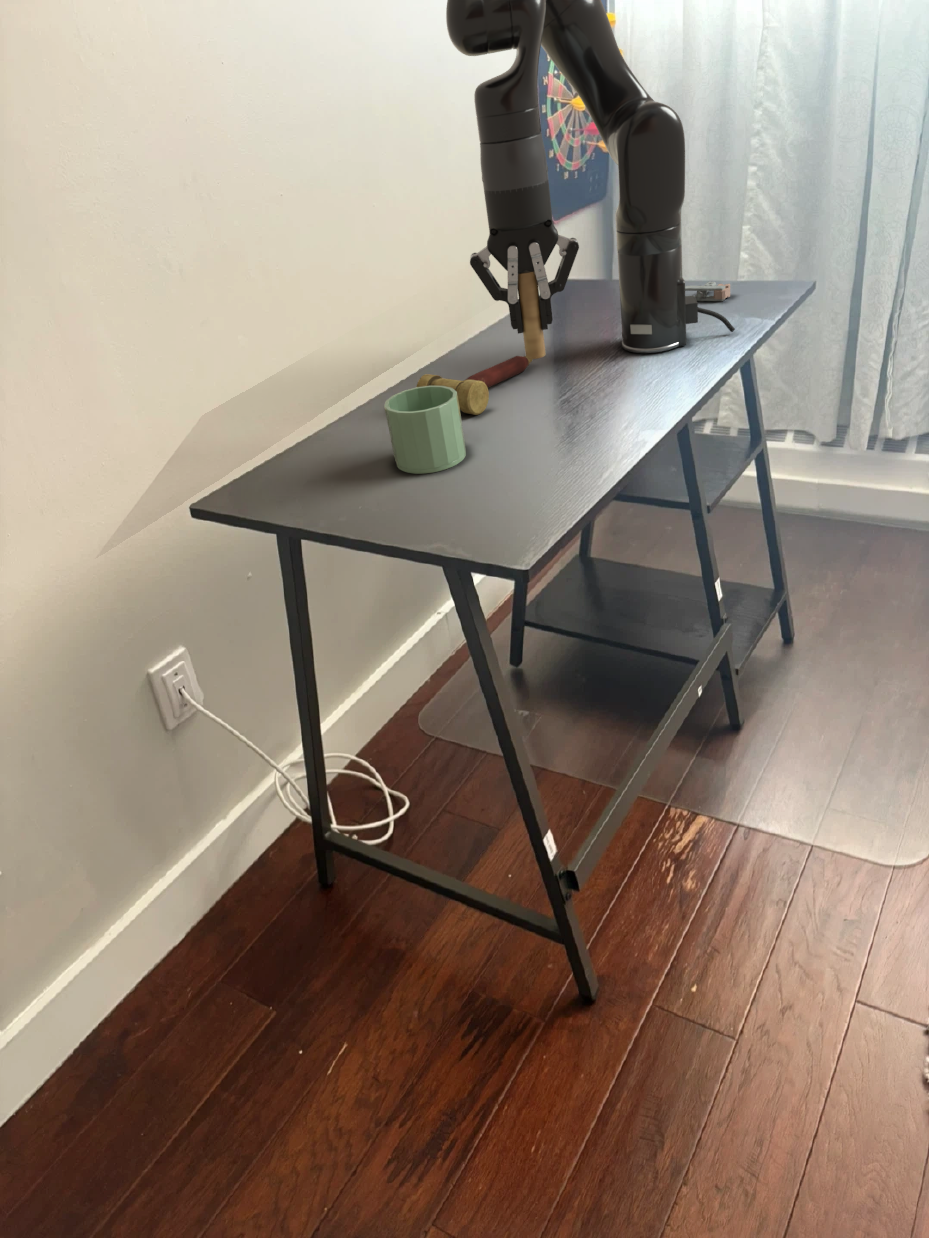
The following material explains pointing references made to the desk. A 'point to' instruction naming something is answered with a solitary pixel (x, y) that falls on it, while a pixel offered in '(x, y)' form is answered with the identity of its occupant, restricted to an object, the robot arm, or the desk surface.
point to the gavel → (478, 383)
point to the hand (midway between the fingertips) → (532, 329)
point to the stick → (531, 315)
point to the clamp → (719, 290)
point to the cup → (425, 429)
